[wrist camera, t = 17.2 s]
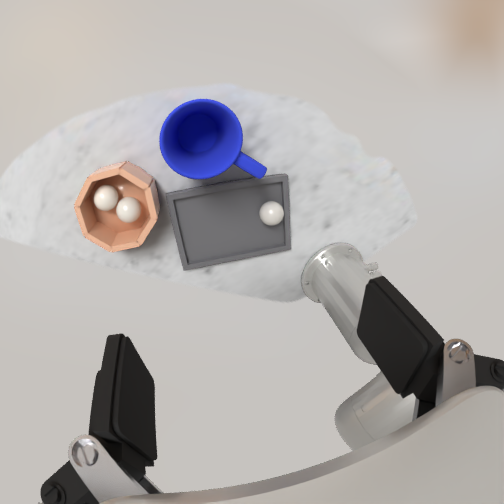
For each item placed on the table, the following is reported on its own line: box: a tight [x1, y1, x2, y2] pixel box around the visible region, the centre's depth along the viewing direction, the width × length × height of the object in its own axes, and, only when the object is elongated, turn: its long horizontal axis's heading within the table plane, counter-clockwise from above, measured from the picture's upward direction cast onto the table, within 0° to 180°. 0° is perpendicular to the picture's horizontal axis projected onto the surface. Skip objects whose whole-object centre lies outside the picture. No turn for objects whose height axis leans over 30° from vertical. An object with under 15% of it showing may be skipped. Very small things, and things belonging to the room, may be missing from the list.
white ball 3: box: [259, 201, 284, 226], centre depth 39 cm, size 4×4×4 cm
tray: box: [166, 174, 291, 270], centre depth 40 cm, size 17×12×1 cm
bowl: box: [74, 161, 160, 252], centre depth 33 cm, size 11×11×5 cm
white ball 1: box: [94, 185, 118, 211], centre depth 32 cm, size 4×4×4 cm
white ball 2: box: [116, 197, 141, 223], centre depth 34 cm, size 4×4×4 cm
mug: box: [160, 99, 267, 179], centre depth 30 cm, size 8×12×10 cm
